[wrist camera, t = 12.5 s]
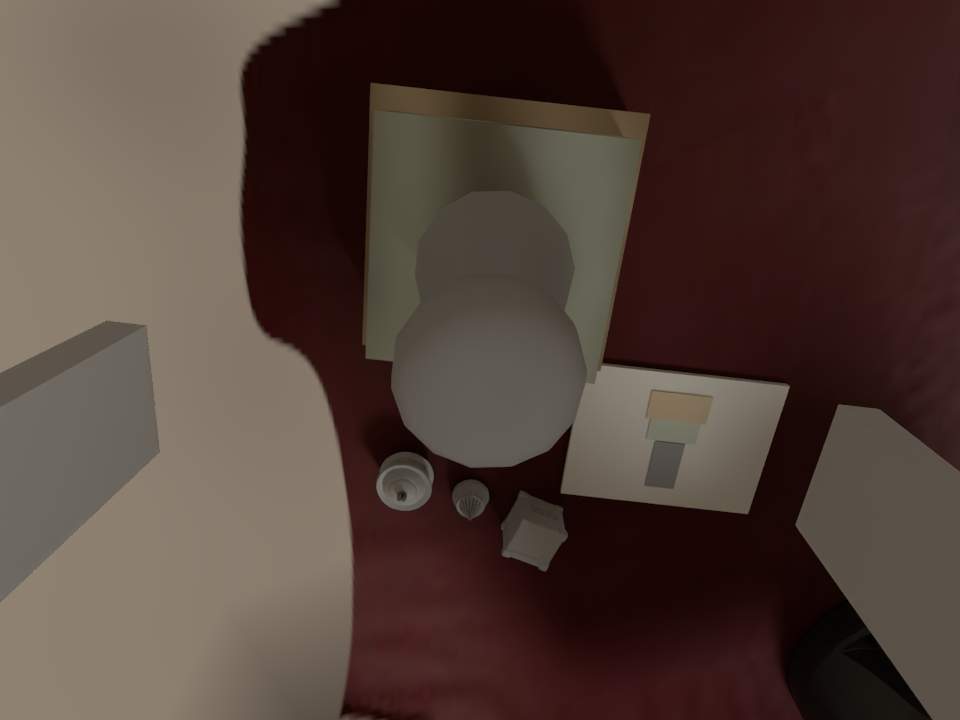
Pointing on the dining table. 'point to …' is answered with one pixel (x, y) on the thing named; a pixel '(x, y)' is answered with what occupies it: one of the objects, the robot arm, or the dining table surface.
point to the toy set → (477, 508)
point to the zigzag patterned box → (496, 167)
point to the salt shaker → (490, 334)
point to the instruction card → (672, 438)
